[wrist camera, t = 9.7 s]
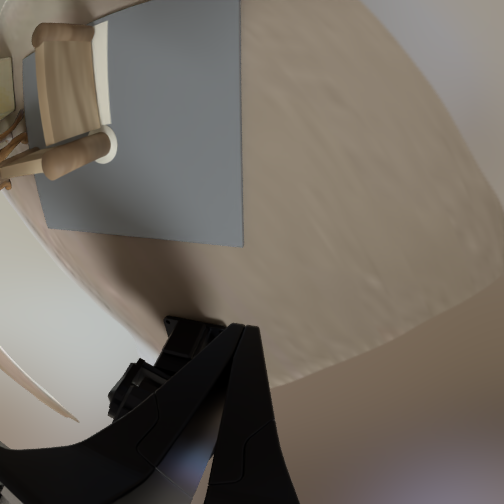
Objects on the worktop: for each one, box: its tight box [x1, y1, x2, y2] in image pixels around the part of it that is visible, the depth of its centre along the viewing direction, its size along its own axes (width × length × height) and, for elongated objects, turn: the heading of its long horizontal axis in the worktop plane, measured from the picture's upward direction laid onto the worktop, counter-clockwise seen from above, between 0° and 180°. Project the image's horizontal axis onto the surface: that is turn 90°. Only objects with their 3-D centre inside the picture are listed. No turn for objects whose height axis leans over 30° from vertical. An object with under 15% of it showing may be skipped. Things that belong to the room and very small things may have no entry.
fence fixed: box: [0, 132, 111, 184], centre depth 17 cm, size 2×11×6 cm, turn 91°
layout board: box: [23, 0, 244, 248], centre depth 18 cm, size 18×22×1 cm
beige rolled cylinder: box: [32, 23, 100, 146], centre depth 13 cm, size 2×9×5 cm, turn 6°
